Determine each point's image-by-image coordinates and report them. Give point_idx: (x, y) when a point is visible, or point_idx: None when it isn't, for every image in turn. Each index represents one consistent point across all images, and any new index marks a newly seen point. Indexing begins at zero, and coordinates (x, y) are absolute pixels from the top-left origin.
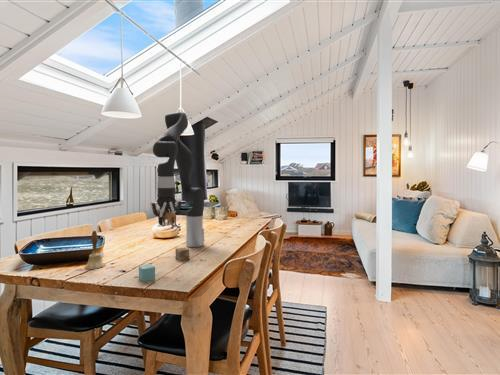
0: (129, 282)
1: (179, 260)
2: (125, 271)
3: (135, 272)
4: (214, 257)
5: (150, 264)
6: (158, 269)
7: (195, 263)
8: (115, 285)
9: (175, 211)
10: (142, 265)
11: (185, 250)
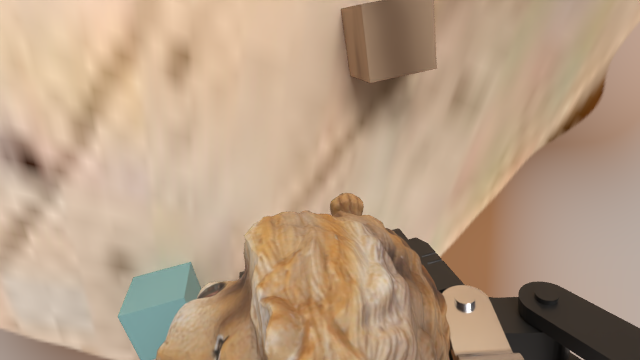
0: (97, 319)
1: (351, 75)
2: (39, 169)
3: (104, 201)
4: (532, 72)
5: (179, 306)
6: (225, 186)
7: (413, 145)
8: (39, 339)
9: (542, 337)
10: (137, 313)
11: (410, 73)
